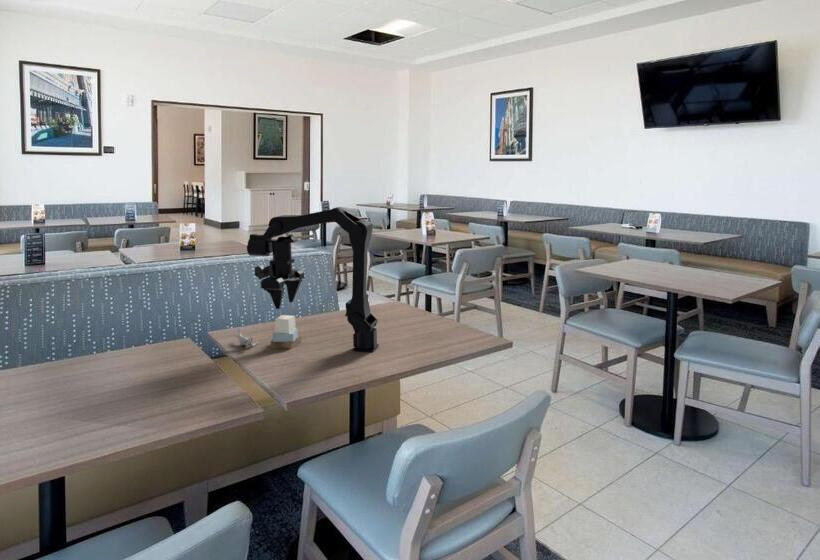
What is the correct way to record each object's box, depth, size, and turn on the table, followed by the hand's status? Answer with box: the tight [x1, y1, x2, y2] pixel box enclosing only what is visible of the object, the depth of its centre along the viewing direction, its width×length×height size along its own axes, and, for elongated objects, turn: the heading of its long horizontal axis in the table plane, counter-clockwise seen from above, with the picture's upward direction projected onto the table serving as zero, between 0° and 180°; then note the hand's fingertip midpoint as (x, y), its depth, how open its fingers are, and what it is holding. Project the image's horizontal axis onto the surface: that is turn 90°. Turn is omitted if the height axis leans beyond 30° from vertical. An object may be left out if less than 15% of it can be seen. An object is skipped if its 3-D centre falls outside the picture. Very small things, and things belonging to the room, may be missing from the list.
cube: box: [274, 314, 297, 333], centre depth 184 cm, size 4×4×4 cm
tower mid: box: [271, 327, 299, 342], centre depth 185 cm, size 6×6×2 cm
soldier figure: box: [234, 328, 259, 348], centre depth 185 cm, size 8×5×12 cm
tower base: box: [270, 335, 302, 350], centre depth 185 cm, size 7×7×2 cm
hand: (284, 305), depth 183 cm, fingers open, 9 cm apart
